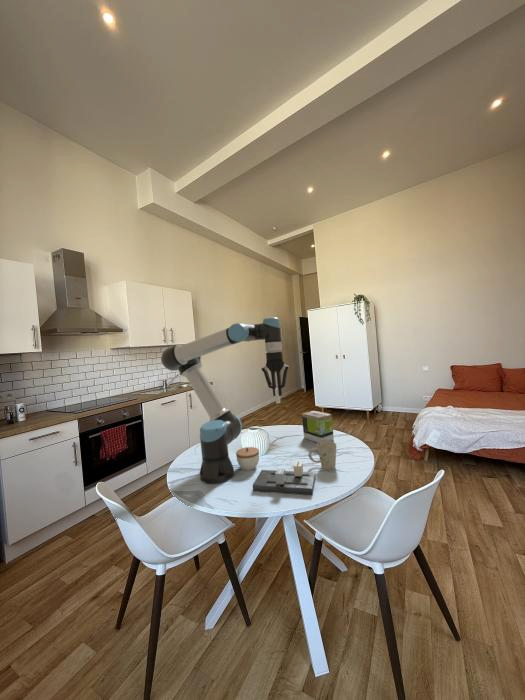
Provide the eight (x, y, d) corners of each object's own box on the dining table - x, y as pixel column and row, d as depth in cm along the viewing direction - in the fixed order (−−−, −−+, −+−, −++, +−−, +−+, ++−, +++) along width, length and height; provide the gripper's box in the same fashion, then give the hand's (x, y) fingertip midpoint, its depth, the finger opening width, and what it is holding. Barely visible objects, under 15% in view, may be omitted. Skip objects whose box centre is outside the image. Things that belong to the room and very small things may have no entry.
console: (253, 491, 109) (252, 484, 109) (262, 475, 122) (261, 469, 121) (312, 495, 103) (311, 488, 103) (315, 478, 115) (315, 471, 115)
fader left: (294, 475, 112) (293, 465, 112) (295, 471, 116) (295, 461, 116) (301, 476, 112) (300, 466, 112) (303, 471, 115) (302, 461, 115)
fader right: (276, 483, 107) (275, 473, 107) (278, 478, 111) (277, 468, 111) (283, 484, 107) (282, 473, 106) (285, 479, 110) (284, 468, 110)
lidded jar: (240, 475, 124) (238, 454, 124) (235, 465, 134) (233, 446, 134) (263, 469, 127) (261, 449, 127) (256, 461, 137) (255, 442, 137)
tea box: (334, 440, 156) (332, 413, 156) (321, 444, 151) (319, 417, 151) (315, 433, 169) (313, 409, 169) (303, 438, 164) (301, 413, 163)
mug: (338, 471, 120) (336, 447, 120) (309, 470, 122) (307, 448, 122) (337, 462, 128) (335, 440, 128) (309, 462, 130) (307, 441, 130)
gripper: (258, 353, 126) (262, 405, 127) (286, 351, 122) (290, 404, 123) (262, 352, 133) (266, 401, 134) (289, 350, 130) (293, 400, 130)
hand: (278, 402), depth 128 cm, fingers closed
